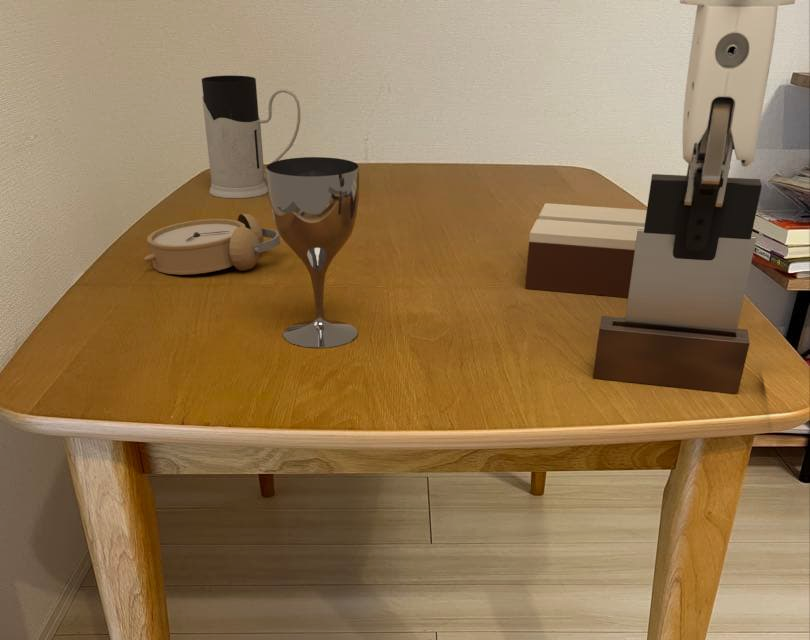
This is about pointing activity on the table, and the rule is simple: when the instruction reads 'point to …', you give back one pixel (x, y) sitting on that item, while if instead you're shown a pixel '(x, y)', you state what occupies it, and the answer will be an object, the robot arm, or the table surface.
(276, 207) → the wine glass
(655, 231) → the dough scraper
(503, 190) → the table surface
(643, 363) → the block
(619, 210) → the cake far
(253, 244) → the alarm clock
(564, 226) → the cake near
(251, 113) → the glass holder
